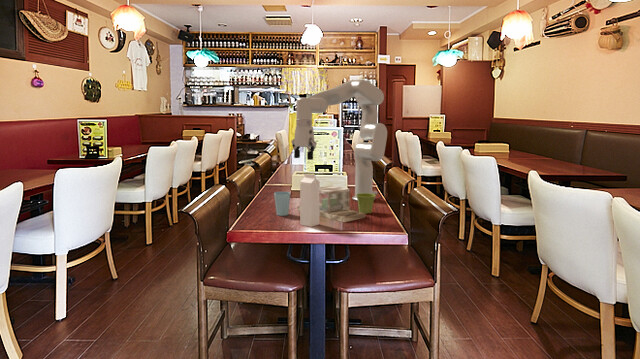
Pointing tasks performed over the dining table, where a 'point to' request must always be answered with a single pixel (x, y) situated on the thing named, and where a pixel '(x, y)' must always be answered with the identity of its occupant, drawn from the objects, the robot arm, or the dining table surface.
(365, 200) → the plant pot
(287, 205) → the cup
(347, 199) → the tunnel
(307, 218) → the milk
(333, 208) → the slider
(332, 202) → the block
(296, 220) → the dining table surface
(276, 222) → the dining table surface
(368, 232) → the dining table surface
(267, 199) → the dining table surface
